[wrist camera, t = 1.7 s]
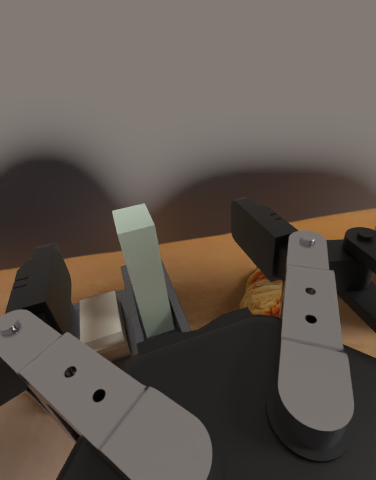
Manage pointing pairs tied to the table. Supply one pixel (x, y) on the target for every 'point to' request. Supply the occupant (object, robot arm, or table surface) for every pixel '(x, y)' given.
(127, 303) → the rack
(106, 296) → the offcut upper
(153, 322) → the tall mint green block
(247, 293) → the croissant
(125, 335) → the offcut lower
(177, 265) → the table surface
